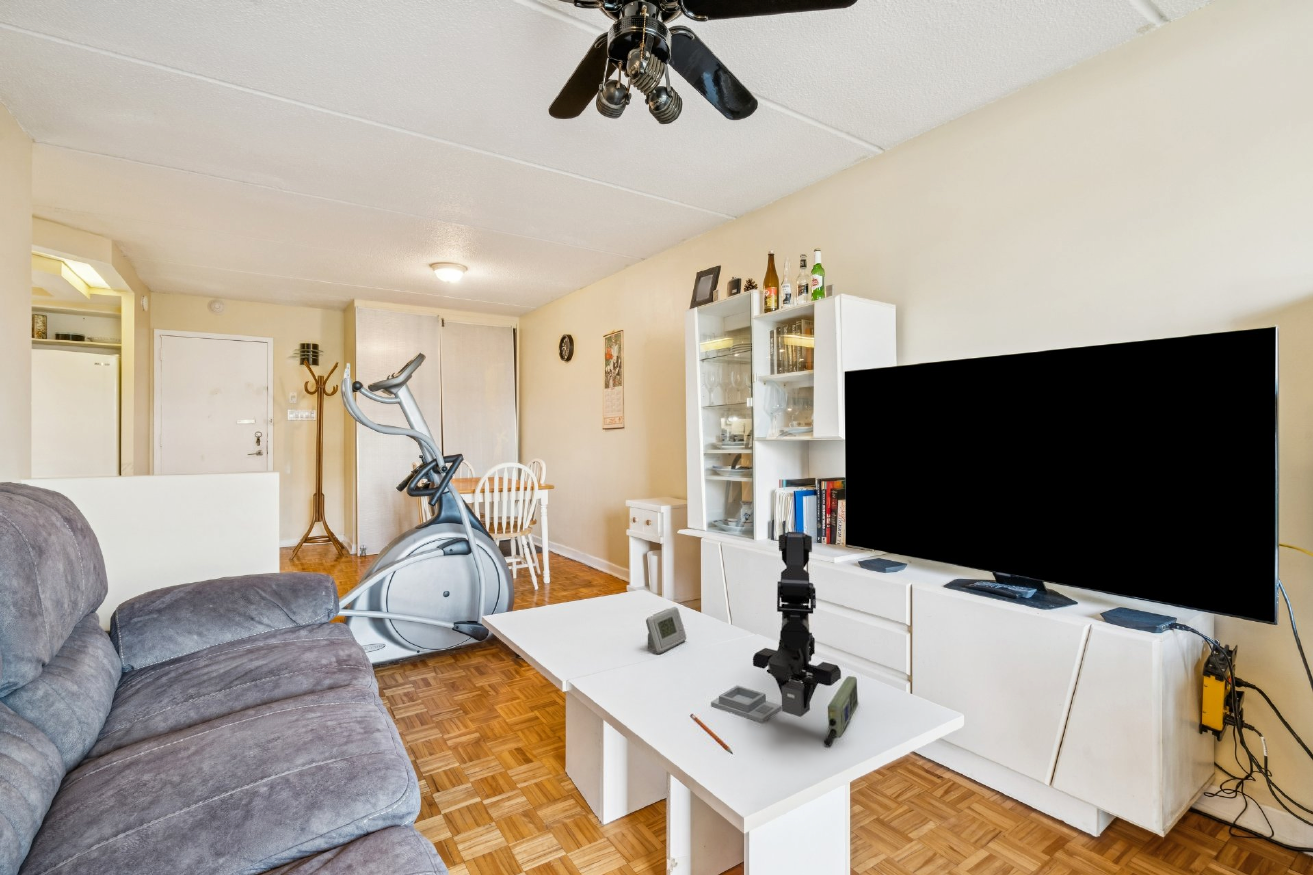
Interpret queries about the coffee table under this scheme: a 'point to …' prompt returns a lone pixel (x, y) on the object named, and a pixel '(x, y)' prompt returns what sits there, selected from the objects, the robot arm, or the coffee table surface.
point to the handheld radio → (841, 708)
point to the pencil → (711, 733)
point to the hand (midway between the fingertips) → (795, 704)
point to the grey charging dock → (746, 704)
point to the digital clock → (665, 630)
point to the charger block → (794, 698)
